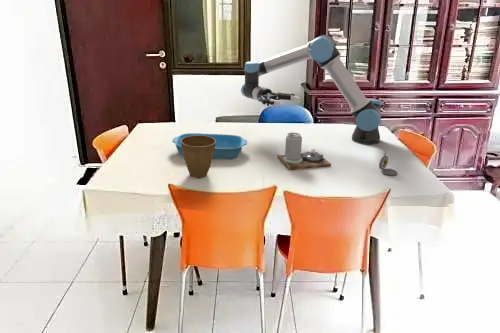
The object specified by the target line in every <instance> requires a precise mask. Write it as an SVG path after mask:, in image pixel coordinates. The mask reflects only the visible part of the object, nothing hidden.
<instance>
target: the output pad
mask: <svg viewBox="0 0 500 333" xmlns="http://www.w3.org/2000/svg"><path fill="white" fill-rule="evenodd" d="M283 160H284V162H286V163H290V164H299V163H301V162H302V160H303V159H302V157H301V158H299V159H298V160H288V159H287V158H286V157H285V156H284V158H283Z"/></svg>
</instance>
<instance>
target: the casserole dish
mask: <svg viewBox="0 0 500 333" xmlns="http://www.w3.org/2000/svg"><path fill="white" fill-rule="evenodd" d="M194 135H203V136H209V137H212V138H214V139H215V140H216V144H215V150H214V155H213V159H212V160H234V159H236V158H238V157H239V155H240V154H241V152H242V149H243V147H244V146H246V145H248V140H247V139H245V138H244V137H242V136H240V135H235V134H221V133H219V134H218V133H199V132H198V133H197V132H196V133H195V132H192V133H191V132H190V133H182V134H180V135H178V136H175V137H174V138H172V143H174V145H175V148H176V150H177V153H178V154H179V155H180V156H181V157H183V158H184V156H183V151H182V146H181V139H182V138H184V137H187V136H194Z"/></svg>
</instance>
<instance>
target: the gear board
mask: <svg viewBox="0 0 500 333" xmlns="http://www.w3.org/2000/svg"><path fill="white" fill-rule="evenodd" d="M316 152H317V153H318V151H316ZM302 153H303V152H301V157H302ZM318 154H320V153H318ZM276 156H277V158H276V159H278V161H279V162H280V163H281V164H282V165H283V167H285V169H287V170H288V171H297V170H298V171H299V170H310V169H319V168H320V169H321V168H331V167H332V163H331V162H330V161H329V160H328V159H326V158H325V157H324V158H323V161H319V162H318V163H315V162H307V161H305V160H302V162H301V163H299V164H290V163H286V162H284V160H283V158H284V156H285V154H278V155H276Z"/></svg>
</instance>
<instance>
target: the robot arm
mask: <svg viewBox="0 0 500 333" xmlns="http://www.w3.org/2000/svg"><path fill="white" fill-rule="evenodd" d="M336 46H337V45H336V41H335V39H334V38H333V37H332V36H330V35H327V34H321V35H319V36H318V37H315V38H314V39H312V40H310V41H308V42H307V43H306V44H304V45H302V46H299V47H296V48H293V49H291V50H287V51H285V52H282V53H279V54H277V55H274V56H270V57H268V58H266V59H263V60H258V61H253V60H252V61H251V60H250V61H246V62H245V63H244V84H242V86H241V89H240V92H241V95H242V96H244V97H246V98H247V99H251V100H255V101H258V102H259V103H261V104H262V105H264V106H265V105H266V107H267V106H268V107H269V106H270V105H271V106H273V107H278V108H280V106H281V105H280V100H283V101H290V102H294V103H296V104H301V97H300V96H296V95H295V94H294V93H287V92H286V93H284V92H280V91H279V92H273V91H272V90H271V89H270V88H268V87H265V86H260V84H259V83H260V79H259V78H260V77H261V76H263V75H266V74H269V73H271V72H274V71H275V72H276V71H277V70H281V69H284V68H286V67H289V66H292V65H295V64H298V63H301V62H305V61H308V60H310V59H312V60H314V61H315V62H316V63H317V65H318V66H319V68H321V69H323V70H325V71H326V72H327V74H328V75H329V77H330V79H331V80H332V81H333V82H334V84H335V85H336V87H337V89H338V90H339V92H340V93H341V95H342V97H344V99H345V101H346V102H347V104H348V105H349V107H350V109H351V110H350V114H351V115H352V116H353V118H354V120H355V123H356V126H355V128H354V129H353V132H352V134H351V140H352V141H353V142H354V143H358V144H362V145H363V144H364V145H375V144H376V145H377V144H379V143H380V141H381V136H380V131H379V125H380V123H381V120H382V118H381V111H382V103H383V102H382V100H380V99H374V98H367V97H366V96H365V94H364V92H362V90H361V88H360V87H359V86H358V84H357V83H356V81H355V79H354V78H353V77H352V75H351V74H350V72H349V70H348V69H347V68H346V66H345V65H344V63H343V61H342V60H341V55H342V54H341V52H340V51H339V50H338V48H337V47H336Z"/></svg>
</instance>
